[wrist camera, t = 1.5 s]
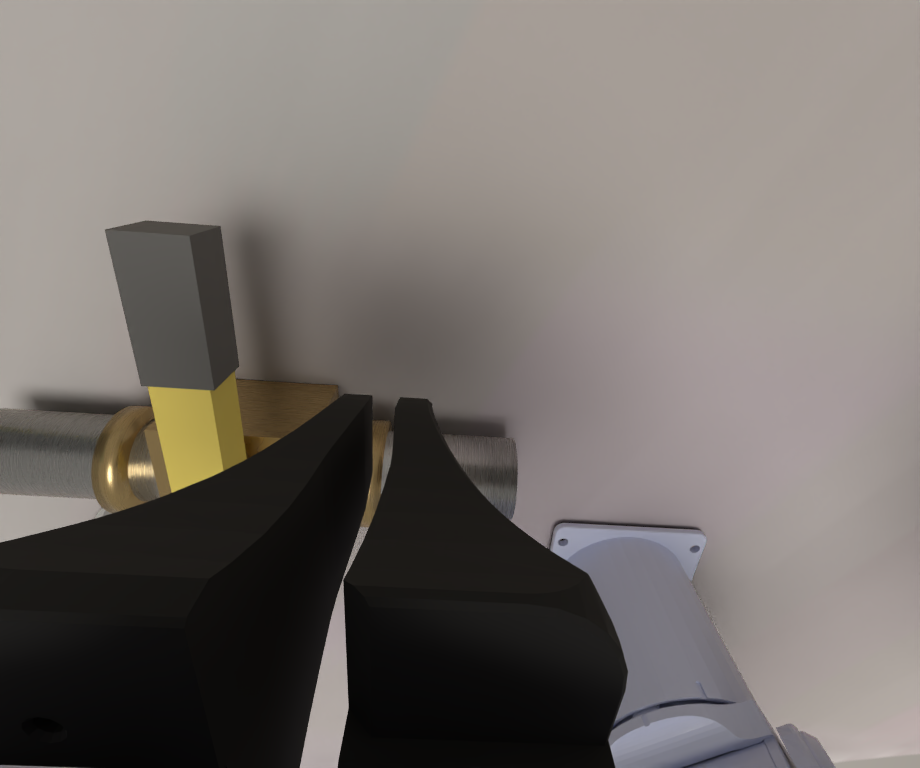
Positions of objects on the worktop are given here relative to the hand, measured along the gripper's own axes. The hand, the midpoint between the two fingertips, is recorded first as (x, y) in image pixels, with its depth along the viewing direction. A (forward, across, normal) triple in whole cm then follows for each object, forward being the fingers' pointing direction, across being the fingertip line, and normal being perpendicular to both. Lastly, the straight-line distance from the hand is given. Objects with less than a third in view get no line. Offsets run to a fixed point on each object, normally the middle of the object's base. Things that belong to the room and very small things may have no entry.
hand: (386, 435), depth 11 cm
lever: (+6, +7, +3) cm, 9 cm away
